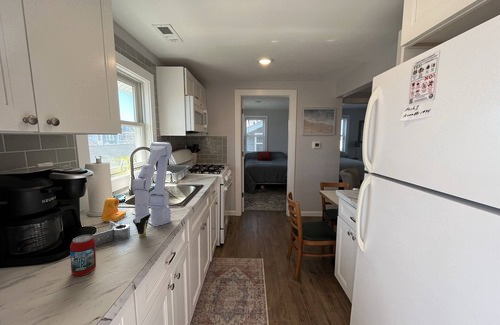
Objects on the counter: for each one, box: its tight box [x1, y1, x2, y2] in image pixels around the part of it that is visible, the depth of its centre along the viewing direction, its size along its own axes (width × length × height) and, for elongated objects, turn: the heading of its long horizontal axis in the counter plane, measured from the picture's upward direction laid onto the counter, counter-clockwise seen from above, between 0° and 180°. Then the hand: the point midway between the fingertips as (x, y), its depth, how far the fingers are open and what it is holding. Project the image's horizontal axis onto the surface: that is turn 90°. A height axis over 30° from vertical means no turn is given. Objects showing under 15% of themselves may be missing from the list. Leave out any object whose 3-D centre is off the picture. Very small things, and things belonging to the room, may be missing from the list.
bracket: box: [101, 197, 127, 222], centre depth 119 cm, size 11×7×12 cm, turn 179°
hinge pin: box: [138, 221, 147, 239], centre depth 100 cm, size 4×4×8 cm
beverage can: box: [69, 234, 97, 277], centre depth 73 cm, size 7×7×12 cm
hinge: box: [92, 221, 131, 247], centre depth 97 cm, size 14×14×5 cm
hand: (142, 231), depth 100 cm, fingers closed on hinge pin, 4 cm apart
